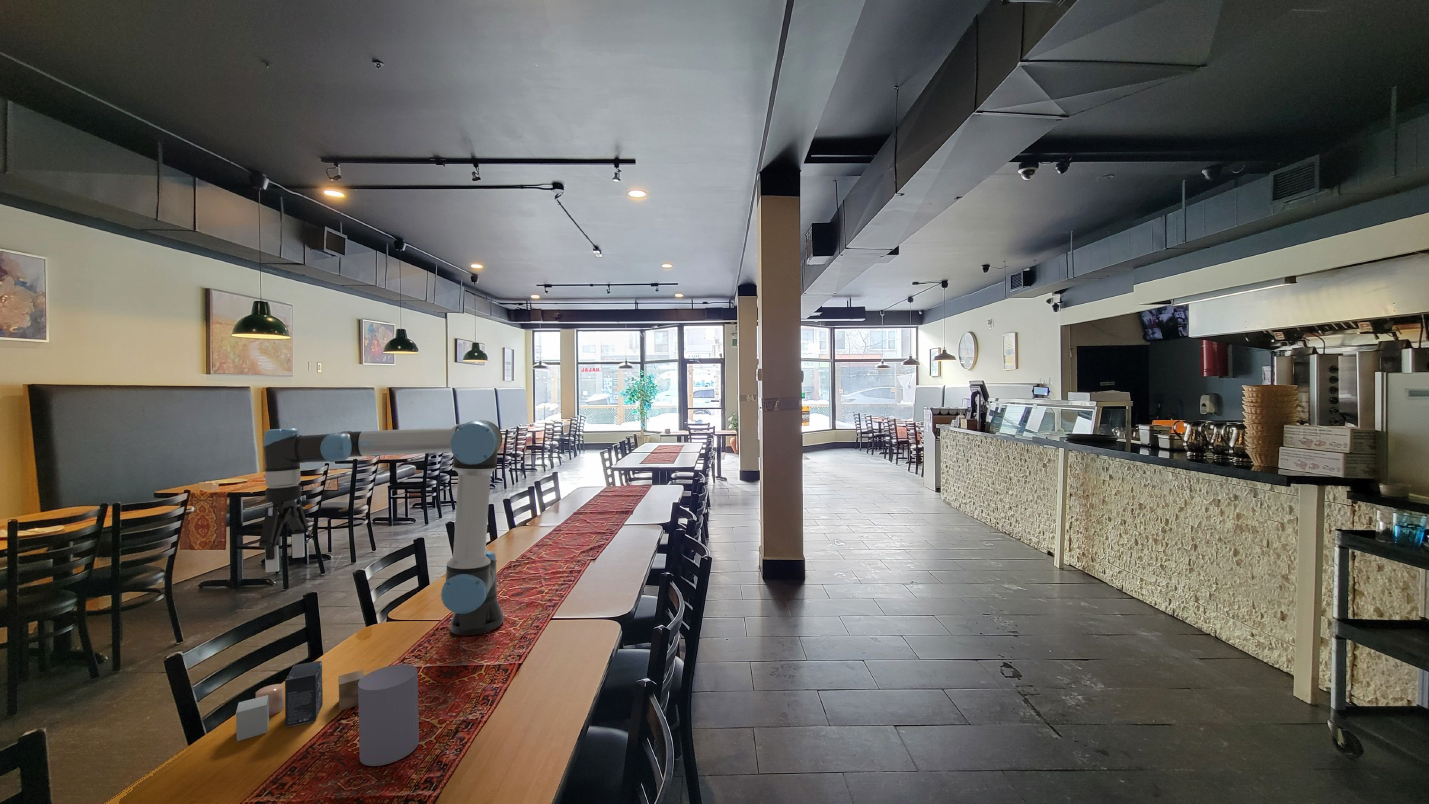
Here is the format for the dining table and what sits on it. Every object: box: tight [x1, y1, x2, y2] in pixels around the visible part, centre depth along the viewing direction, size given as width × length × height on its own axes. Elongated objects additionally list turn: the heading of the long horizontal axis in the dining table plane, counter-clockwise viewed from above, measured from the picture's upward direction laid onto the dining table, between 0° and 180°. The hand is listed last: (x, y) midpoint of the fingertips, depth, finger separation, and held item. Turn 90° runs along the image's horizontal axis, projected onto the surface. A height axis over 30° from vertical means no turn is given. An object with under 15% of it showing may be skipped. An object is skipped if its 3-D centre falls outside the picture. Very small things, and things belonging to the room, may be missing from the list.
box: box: [284, 660, 324, 728], centre depth 124 cm, size 8×6×11 cm
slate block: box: [235, 695, 270, 742], centre depth 119 cm, size 5×5×6 cm
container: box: [358, 663, 420, 767], centre depth 111 cm, size 10×10×15 cm
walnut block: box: [338, 669, 365, 711], centre depth 130 cm, size 5×5×6 cm
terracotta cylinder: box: [255, 683, 285, 717], centre depth 126 cm, size 5×5×5 cm
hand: (286, 564), depth 149 cm, fingers open, 13 cm apart
